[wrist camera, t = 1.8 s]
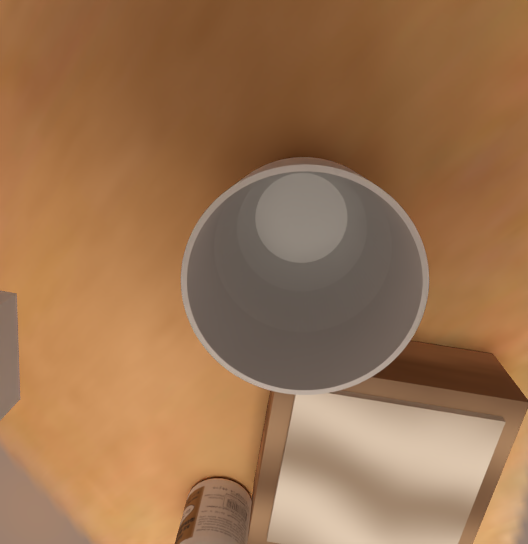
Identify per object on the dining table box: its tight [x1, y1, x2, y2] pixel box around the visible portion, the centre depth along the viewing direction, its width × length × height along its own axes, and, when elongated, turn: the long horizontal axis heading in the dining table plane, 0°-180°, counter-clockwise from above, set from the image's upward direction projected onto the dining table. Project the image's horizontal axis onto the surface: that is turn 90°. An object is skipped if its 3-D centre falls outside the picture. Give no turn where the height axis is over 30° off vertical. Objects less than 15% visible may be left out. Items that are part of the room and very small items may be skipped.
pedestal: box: [247, 341, 528, 544], centre depth 27 cm, size 12×12×5 cm
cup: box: [181, 157, 429, 395], centre depth 20 cm, size 8×8×10 cm
